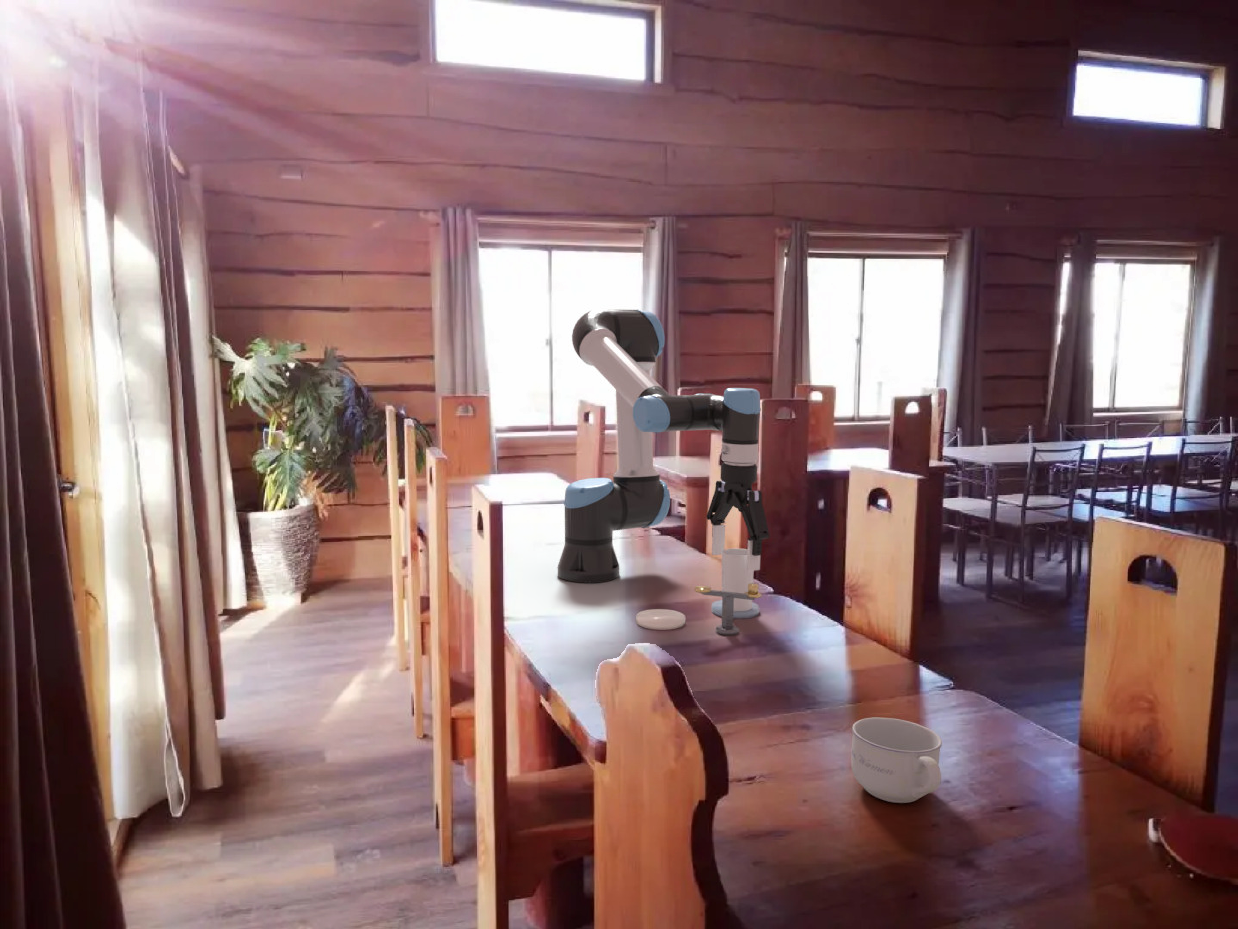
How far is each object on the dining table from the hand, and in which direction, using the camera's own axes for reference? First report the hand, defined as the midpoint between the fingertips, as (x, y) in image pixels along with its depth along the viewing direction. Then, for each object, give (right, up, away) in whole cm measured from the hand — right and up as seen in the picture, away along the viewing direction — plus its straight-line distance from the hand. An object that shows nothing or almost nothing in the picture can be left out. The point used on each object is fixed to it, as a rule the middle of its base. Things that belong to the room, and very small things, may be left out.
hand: (734, 562), depth 188 cm
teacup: (+11, -21, -77) cm, 80 cm away
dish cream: (-16, -11, -7) cm, 21 cm away
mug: (0, -10, +1) cm, 10 cm away
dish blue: (0, -11, +1) cm, 11 cm away
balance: (-3, -12, -13) cm, 18 cm away
